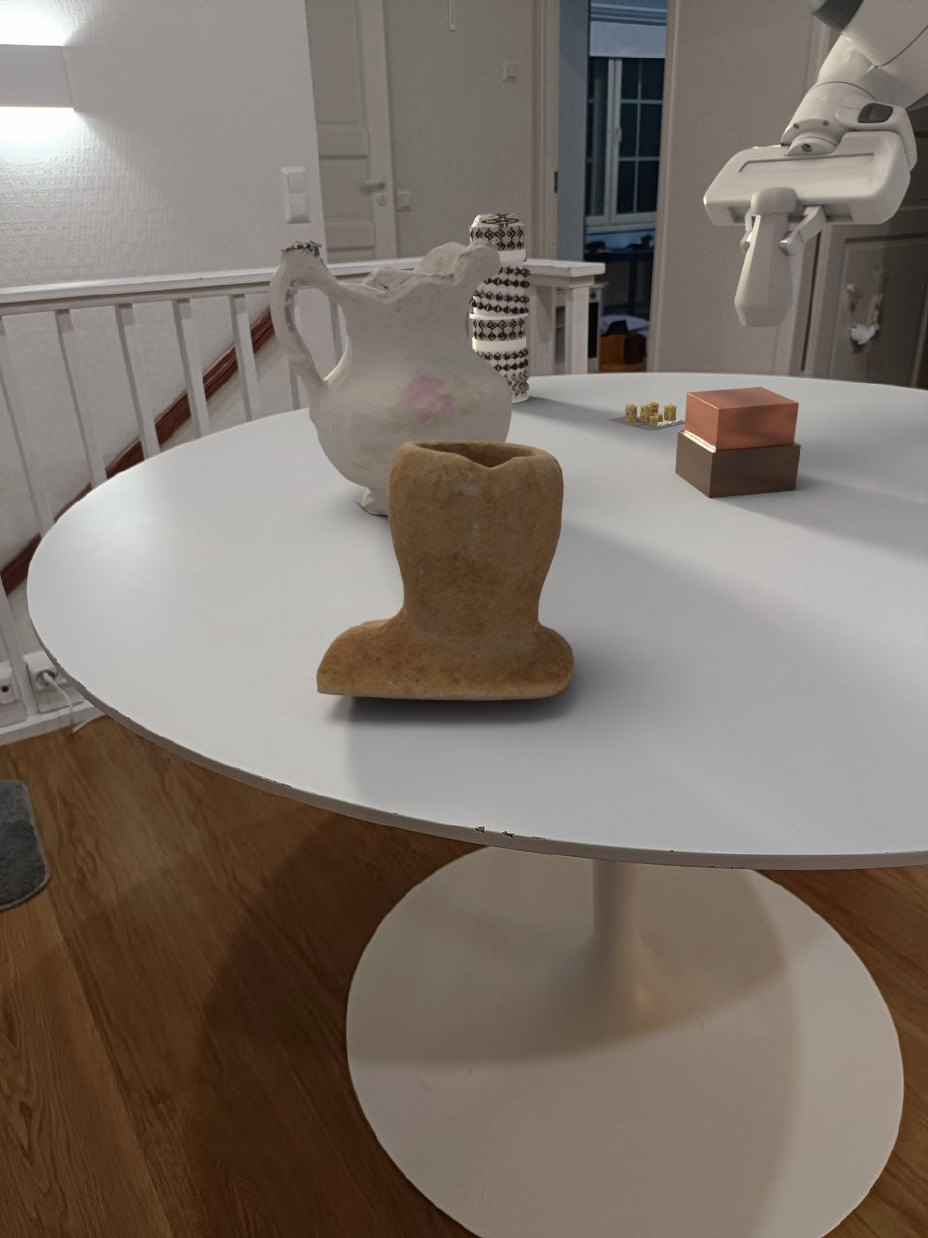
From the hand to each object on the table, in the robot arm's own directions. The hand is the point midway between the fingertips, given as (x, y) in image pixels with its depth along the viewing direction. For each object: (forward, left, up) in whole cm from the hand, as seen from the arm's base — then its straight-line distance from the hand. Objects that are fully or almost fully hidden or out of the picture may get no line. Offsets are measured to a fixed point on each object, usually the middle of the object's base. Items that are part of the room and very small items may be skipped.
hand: (766, 251), depth 89 cm
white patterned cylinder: (+30, -33, -21) cm, 49 cm away
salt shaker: (0, -1, -7) cm, 7 cm away
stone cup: (+27, +50, -21) cm, 61 cm away
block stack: (+3, +9, -21) cm, 23 cm away
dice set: (+9, -18, -21) cm, 29 cm away
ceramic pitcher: (+36, +15, -21) cm, 44 cm away
